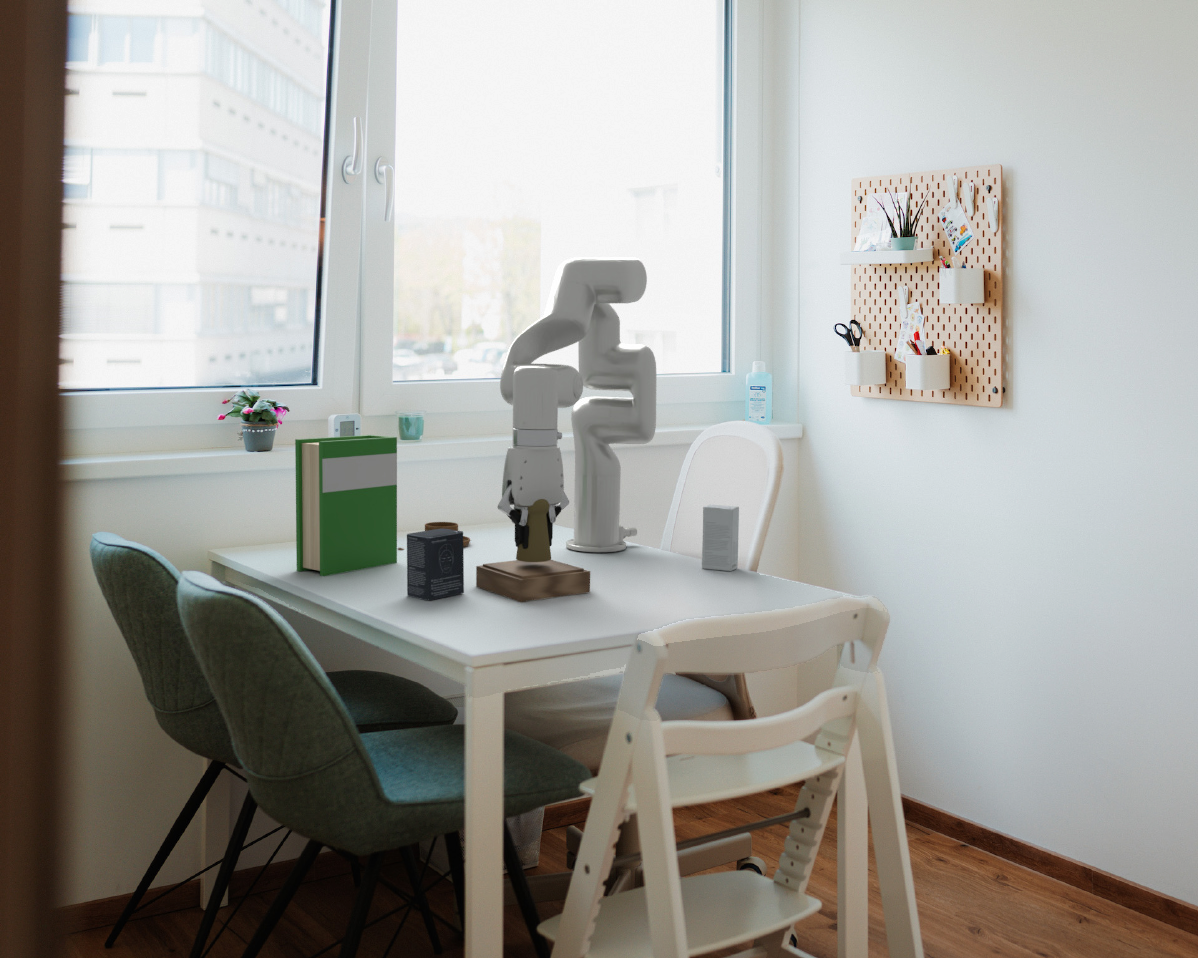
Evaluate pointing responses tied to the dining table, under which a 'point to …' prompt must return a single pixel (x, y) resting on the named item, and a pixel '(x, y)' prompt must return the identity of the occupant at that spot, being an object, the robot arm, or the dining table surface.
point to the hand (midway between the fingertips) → (533, 545)
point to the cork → (536, 534)
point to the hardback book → (346, 503)
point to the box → (435, 564)
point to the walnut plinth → (532, 579)
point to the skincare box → (720, 537)
